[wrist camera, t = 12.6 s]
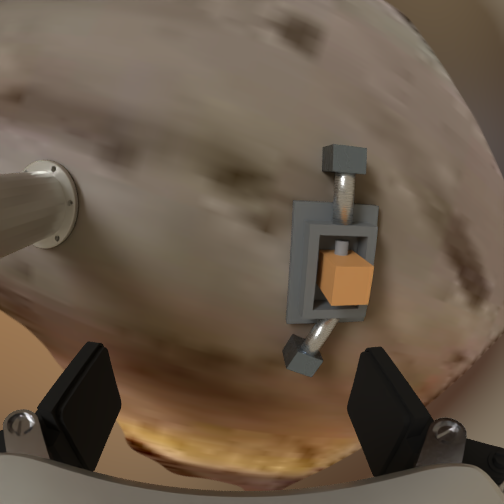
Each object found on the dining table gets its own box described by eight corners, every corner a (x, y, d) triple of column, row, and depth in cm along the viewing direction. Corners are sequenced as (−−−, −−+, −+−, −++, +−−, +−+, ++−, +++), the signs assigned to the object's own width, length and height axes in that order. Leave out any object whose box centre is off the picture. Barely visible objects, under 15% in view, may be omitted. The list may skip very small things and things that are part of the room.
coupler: (315, 294, 39) (329, 319, 32) (320, 236, 37) (337, 251, 30) (346, 294, 39) (365, 317, 32) (353, 237, 37) (375, 252, 30)
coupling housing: (285, 319, 41) (290, 334, 37) (293, 200, 37) (299, 203, 33) (360, 317, 41) (371, 331, 37) (374, 205, 37) (389, 209, 33)
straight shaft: (349, 220, 37) (362, 226, 33) (319, 219, 37) (329, 225, 33) (353, 150, 35) (366, 148, 31) (322, 147, 35) (333, 144, 31)
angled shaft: (314, 298, 40) (322, 313, 36) (338, 309, 41) (347, 324, 36) (282, 350, 42) (286, 368, 38) (305, 359, 43) (311, 377, 38)
